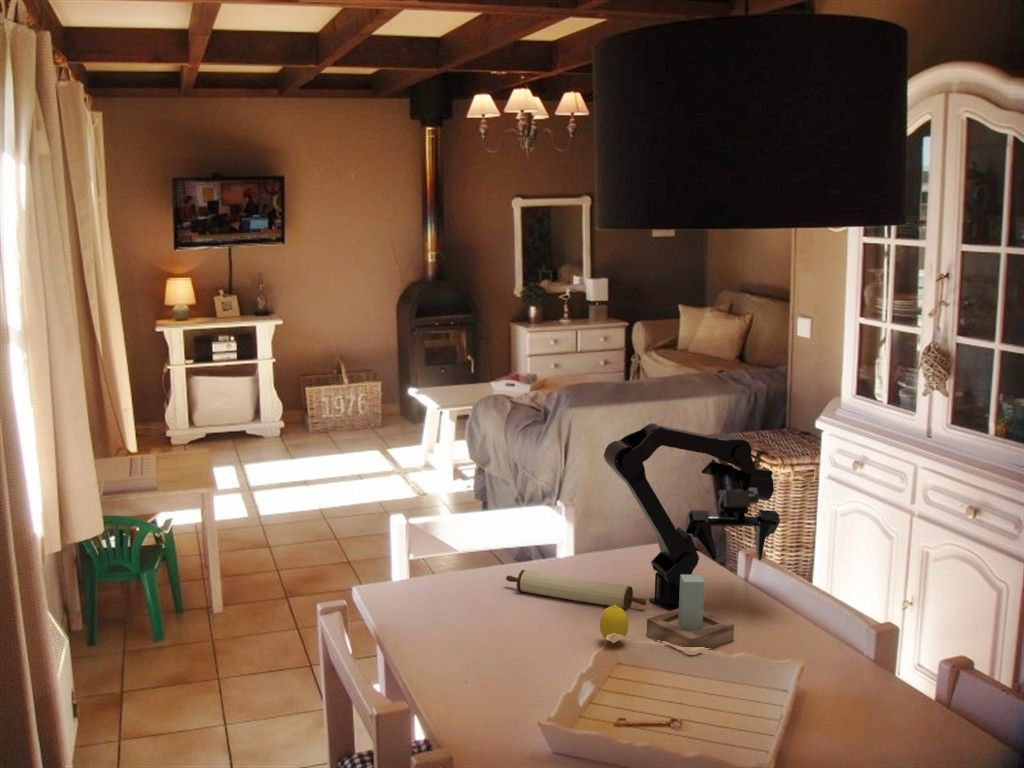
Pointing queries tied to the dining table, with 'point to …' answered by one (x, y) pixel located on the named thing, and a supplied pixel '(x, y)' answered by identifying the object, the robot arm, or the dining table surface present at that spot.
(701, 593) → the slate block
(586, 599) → the rolling pin
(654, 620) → the walnut base
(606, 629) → the lemon
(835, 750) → the dining table surface
